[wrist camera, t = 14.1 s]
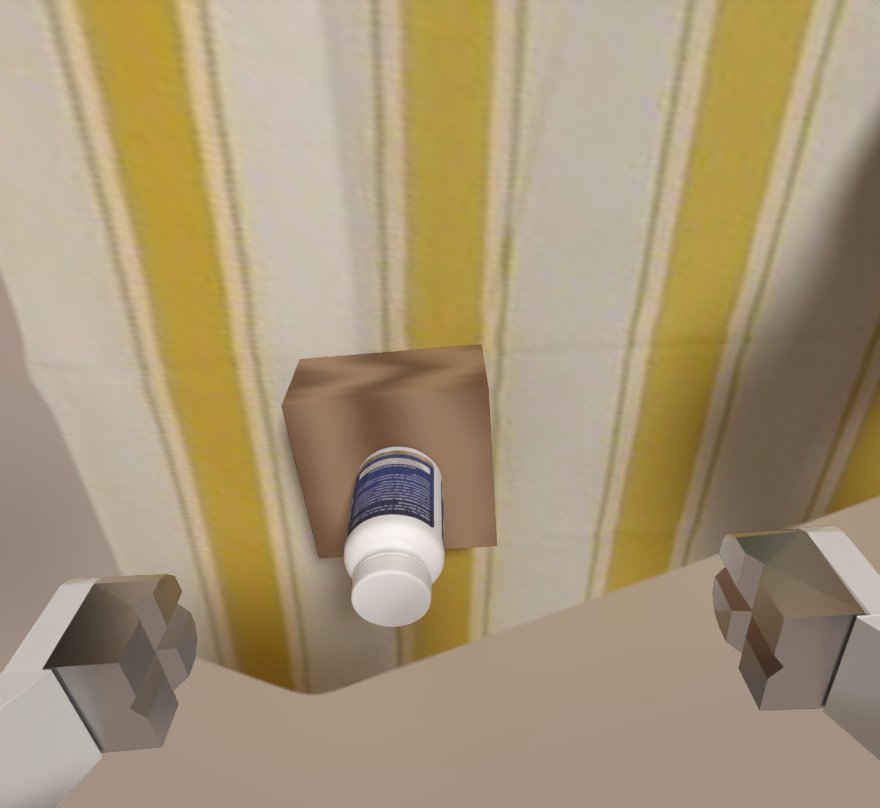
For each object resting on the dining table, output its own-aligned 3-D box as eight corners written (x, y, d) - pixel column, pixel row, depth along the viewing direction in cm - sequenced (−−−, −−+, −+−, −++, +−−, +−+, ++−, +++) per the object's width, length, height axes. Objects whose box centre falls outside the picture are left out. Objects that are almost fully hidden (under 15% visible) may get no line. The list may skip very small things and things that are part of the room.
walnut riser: (481, 344, 42) (488, 389, 37) (489, 489, 48) (496, 545, 43) (299, 359, 42) (281, 405, 37) (330, 501, 48) (319, 558, 43)
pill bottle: (339, 465, 39) (313, 585, 31) (415, 429, 38) (411, 544, 30) (384, 524, 42) (372, 650, 33) (457, 492, 41) (464, 615, 32)
